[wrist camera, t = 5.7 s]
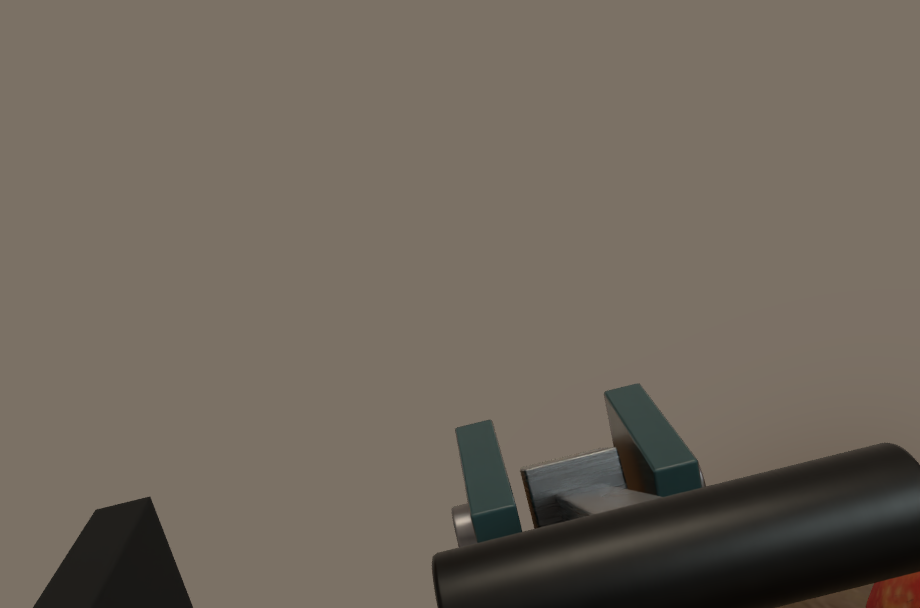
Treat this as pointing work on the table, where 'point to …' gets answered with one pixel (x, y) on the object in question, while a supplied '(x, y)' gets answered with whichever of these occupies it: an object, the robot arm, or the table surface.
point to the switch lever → (695, 537)
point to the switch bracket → (633, 433)
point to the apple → (896, 592)
